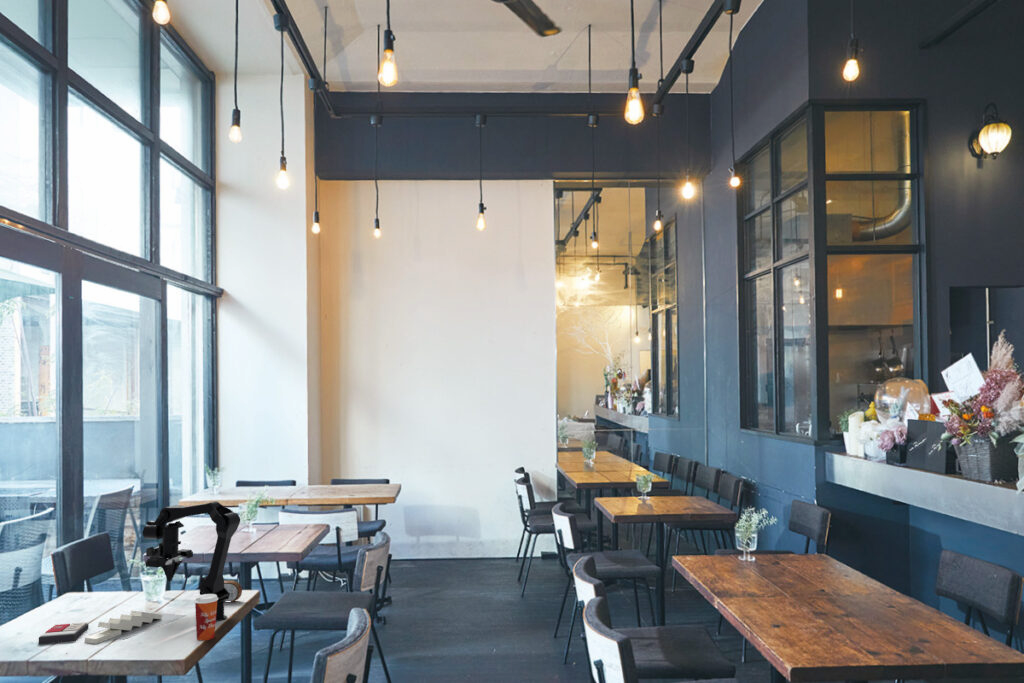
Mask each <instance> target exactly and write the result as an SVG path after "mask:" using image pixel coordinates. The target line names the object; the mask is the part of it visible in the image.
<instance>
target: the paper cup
mask: <svg viewBox="0 0 1024 683" xmlns="http://www.w3.org/2000/svg"><path fill="white" fill-rule="evenodd" d="M217 600H218V598H217V595H216V594H204V595H200V594H199V595H198V596H196V597H195V599H194V601H193V602H194V604H195V605H194V606H195V607H194V608H195V627H196V628H195V629H196V630H195V631H196V640H198V641H201V642H203V641H210V640H213V639H215V635H216V634H215V633H216V623H217V621H216V612H217Z"/></svg>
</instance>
